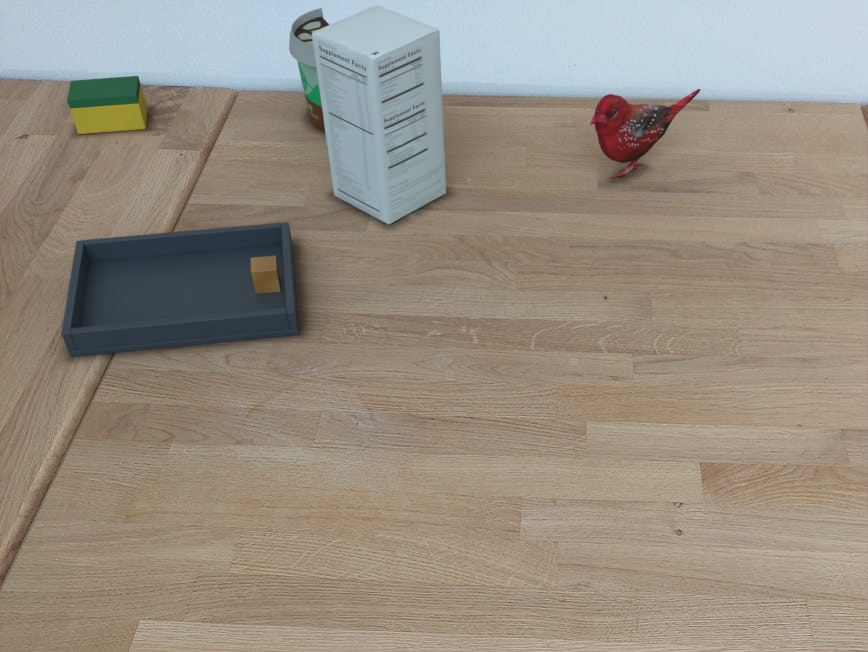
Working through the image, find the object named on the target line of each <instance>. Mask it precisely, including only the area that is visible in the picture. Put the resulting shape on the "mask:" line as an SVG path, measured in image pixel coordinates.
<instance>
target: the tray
mask: <svg viewBox="0 0 868 652" xmlns="http://www.w3.org/2000/svg"><path fill="white" fill-rule="evenodd" d="M291 233H292V232H291V228H290V223H289V221H286V222H284V221H283V222H274V223H273V222H272V223H261V224H259V223H258V224H248V225H237V226H229V227H228V226H225V227H217V228H215V227H214V228H204V229H203V228H202V229H194V230H192V229H191V230H183V231H181V230H180V231H169V232H159V233H148V234H135V235H125V236H123V235H122V236H114V237H102V238H91V239H90V238H89V239H80V240H76V241H75V247H74V253H73V260H72V266H71V272H70V279H69V283H68V284H69V285H68V289H67V290H68V291H67V296H66V297H67V298H66V303H65V308H64V315H63V321H62V329H61V332H60V333H61V334H60V335H61V338H62V339H63V342H64V344H65V346H66V349H67V351H68V354H69V356H70V357H71V358H74V357H75V358H76V357H84V356H95V355H105V354H114V353H115V354H116V353H124V352H134V351H135V352H136V351H146V350H147V351H148V350H155V349H157V350H158V349H165V348H177V347H188V346H196V345H197V346H198V345H207V344H216V343H227V342H237V341H247V340H257V339H258V340H259V339H267V338H269V339H270V338H277V337H288V336H297V335H298V336H299V335H300V327H299V315H298V314H299V313H298V300H297V299H298V298H297V286H296V274H295V272H296V271H295V261H294V260H295V259H294V246H293V245H294V244H293V238H292V234H291ZM265 256H276V259H277V264H278V269H279V275H280V285H281V292H275V293H264V294H256V293H255V288H254V284H253V279H252V275H251V258H254V257H265Z"/></svg>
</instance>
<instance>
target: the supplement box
mask: <svg viewBox="0 0 868 652" xmlns="http://www.w3.org/2000/svg"><path fill="white" fill-rule="evenodd" d="M440 34H441V33H440V30H439V29H438V28H436V27H433V26H431V25H429V24H425V23H423V22H422V21H418V20H416V19H413V18H410V17H408V16H405V15H403V14H401V13H398V12H396V11H393V10H391V9H388V8H385V7H383V6H380V5H379V4H378V5H374V6H371V7H368V8H366V9H363V10H361V11H359V12H356V13H355V14H352V15H350V16H348V17H345V18H343V19H340V20H338V21H336V22H333V23H331V24H329V25H328V26H326V27H324V28H321V29H319V30H317V31H315V32H313V33H312V40H313V47H314V54H315V61H316V68H317V76H318V83H319V90H320V97H321V104H322V111H323V118H324V126H325V132H324V133H325V141H326V149H327V155H328V162H329V163H328V164H329V168H330V169H329V170H330V176H331V185H332V191H333V195H334V197H337V198H338V199H340V200H342V201H344V202H345V203H348V204H349V205H351V206H352V207H354V208H356V209H359V210H360V211H363V212H364V213H365V214H368V215H370V216H372V217H374V218H375V219H377V220H379V221H380V222H383V223H385V224H386V225H392V224H393V223H394V222H397V221H398V220H400V219H402V218H403V217H405V216H407V215H409V214H411V213H412V212H415V211H416V210H418V209H420V208H422V207H424V206H425V205H428V204H429V203H431V202H433V201H434V200H437V199H438V198H440V197H442V196H444V195H446V194H447V178H446V177H447V176H446V173H447V172H446V154H445V153H446V151H445V132H444V129H445V128H444V107H443V85H442V64H441V63H442V60H441V37H440V36H441V35H440Z"/></svg>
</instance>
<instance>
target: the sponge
mask: <svg viewBox="0 0 868 652" xmlns="http://www.w3.org/2000/svg"><path fill="white" fill-rule="evenodd" d="M66 102H67V105H68V107H69V111H70V114H71V117H72V120H73V123H74V125H75V128H76V131H77V134H78V135H87V134H98V133H113V132H125V131H135V130H136V131H137V130H146V127H147V126H146V125H147V119H148V106H147V103H146V98H145V96H144V92H143V88H142V84H141V80H140V77H139V75H130V76H116V77H103V78H90V79H76V80H75V79H74V80H70V83H69V89H68V93H67V97H66Z"/></svg>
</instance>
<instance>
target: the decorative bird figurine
mask: <svg viewBox="0 0 868 652" xmlns="http://www.w3.org/2000/svg"><path fill="white" fill-rule="evenodd" d="M700 91H701V88H697V89H696V90H694V91H692V92H691V93H689V94H687V95H686V96H684V97H683V98H681V99H679V100H677V101H676V102H675V103H673V104H672V105H669V106H666V105H663V104H656V103H641V104H631V103H629V102H628V101H627V100H626V99H625V98H624V97H622V96H621V95H618V94H612V93H609V94H605V95H604V96H603V97H601V98H600V100H599V101H598V103H597V104H596V107H595V110H594V115H593V117H592V118H591V121H590V123H589V126H591V125H594V130H595V132H596V136H597V141H598V145H599V147H600V150H601V151H602V153H603V154H604V156H606V158H608V159H609V160H611V161H612V162H613V161H614V162H617V163H620V164H627V163H628V165H627V166H626V167H625V168H624V169H621V170H619V172H618V173H617V174H615V175H613V176H611V177H609V180H613V179H615V178H623V177H626V176H627V175H628V174H630V173H631V172H633V171H635V170H638V167H639V166H643V164H642V162H638V161H639V160H640V159H641V158H642V157H643V156H645V155H647V153H648V152H649V151H650V150H651V149H652V148H653V147H654V146H655V144H657V142H659V141H660V140H661V139H662V138H663V136H664V135H665V134H666V132H667V131H668V128H669V127H670V125H671V124H672V122H673V120H674V119H675V117H676V116H677V115H678V114H679V113H680V112H681V111H682V110H683V109H684V108H685V107H686V106H687V105H689V103H690V102H691V101H693V99H694V98H695V97H697V96H698V95H699V94H700Z"/></svg>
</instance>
